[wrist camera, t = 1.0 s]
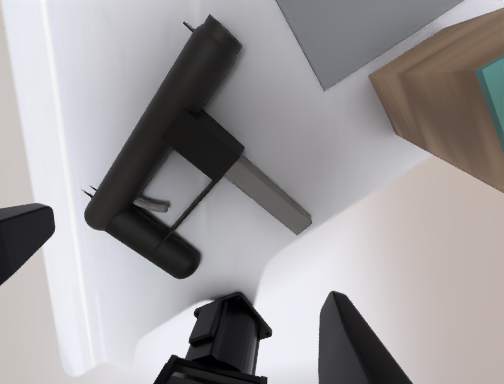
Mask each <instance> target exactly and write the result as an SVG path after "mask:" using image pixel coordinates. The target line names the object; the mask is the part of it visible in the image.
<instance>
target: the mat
mask: <svg viewBox="0 0 504 384" xmlns="http://www.w3.org/2000/svg"><path fill="white" fill-rule="evenodd" d="M276 1H277V3H278V5H279V6H280V8H281V10H282V12H283V14H284V16H285V18H286V20H287V21H288V23H289V25H290V27H291V29H292V31H293V33H294V35H295V36H296V38H297V40H298V42H299V44H300V46H301V48H302V50H303V51H304V53H305V55H306V57H307V59H308V61H309V63H310V64H311V66H312V68H313V70H314V72H315V74H316V76H317V78H318V79H319V81H320V83H321V85H322V87H323V89H324V91H325V90H327V89H328V88H330V87H332V86H333V85H335V84H336V83H338V82H339V81H341V80H342V79H344V78H345V77H347V76H348V75H350V74H351V73H353V72H355V71H356V70H358V69H359V68H361V67H362V66H364V65H365V64H367V63H368V62H370V61H371V60H373V59H375V58H376V57H378V56H379V55H381V54H382V53H384V52H385V51H387V50H388V49H390V48H391V47H393V46H395V45H396V44H398V43H399V42H401V41H402V40H404V39H405V38H407V37H408V36H410V35H411V34H413V33H414V32H416V31H418V30H419V29H421V28H422V27H424V26H425V25H427V24H428V23H430V22H431V21H433V20H434V19H436V18H438V17H439V16H441V15H442V14H444V13H445V12H447V11H448V10H450V9H451V8H453V7H454V6H456V5H457V4H459V3H461V2H462V1H464V0H276Z"/></svg>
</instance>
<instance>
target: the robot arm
mask: <svg viewBox="0 0 504 384" xmlns="http://www.w3.org/2000/svg"><path fill="white" fill-rule="evenodd" d="M54 231H55V222H54V214H53V209H52V208H51V207H50V206H47V205H43V204H40V203H33V204H26V205H20V206H14V207H8V208H2V209H0V285H2V284H3V283H4V282H5V281H6V280H8V279H9V278H10V277H11V276H12V275H13V274H14V273H15V272H16V271H17V270H18V269H19V268H20V267H21V266H22V265H23V264H24V263H25V262H26V261H27V260H28V259H29V258H30V257H31V256H32V255H33V254H34V253H35V252H36V251H37V250H38V249H39V248H40V247H41V246H42V245H43V244H44V243H45V242H46V241H47V240H48V239H49V238H50V237H51V236H52V235H53V233H54ZM238 297H239V298H238ZM194 316H195V317H196V318H197V321H196V323H195V326H194V328H193V331H192V333H191V336H190V338H189V343H190V347H189V350H188V352H187V355H186V357H185V359H184V358H180V357H178V356H176V355H172V356H171V357H170V359H169V360H168V362H167V363H166V364H165V365H164V367H163V369H162V370H161V372H160V374H159V375H158V377H157V378H156V380H155V382H154V383H153V384H267V377H264V376H261V377H259V376H255V370H256V363H257V356H258V348H259V342H260V340H262V339H265V338H268V337H271V336H272V329H271V328H270V327H269V326H268V324H267V323H266V322H265V321H264V320H263V318H262V317H261V316H260V315H259V313H258V312H257V311H256V310H255V309H254V307H253V306H252V305H251V304H250V303H249V301H248V300H247V299H246V298H245V296H244V295H243V294H242V293H239V292H237V293H234V294H232V295H229V296H227V297H224V298H222V299H219V300H216V301H214V302H211V303H209V304H206V305H204V306H202V307H199V308H197V309H195V311H194ZM319 327H320V328H319V358H318V374H319V384H413V383H412V382H411V381H410V379H409V378H408V377H407V375H406V374H405V373H404V371H403V370H402V369H401V367H400V366H399V365H398V363H397V362H396V361H395V360H394V358H393V357H392V355H391V354H390V353H389V351H388V350H387V349H386V347H385V346H384V345H383V343H382V342H381V341H380V340H379V338H378V337H377V336H376V334H375V333H374V331H373V330H372V329H371V327H370V326H369V325H368V323H367V322H366V321H365V320H364V318H363V317H362V315H361V314H360V313H359V312H358V310H357V309H356V308H355V306H354V305H353V304H352V302H351V301H350V300H349V298H348V297H347V296H346V295H345V294H343V293H339V292H336V291H331V292H330V293H329V295H328V297H327V299H326V301H325V303H324V305H323V307H322V309H321V312H320V326H319Z"/></svg>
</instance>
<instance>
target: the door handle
mask: <svg viewBox="0 0 504 384" xmlns="http://www.w3.org/2000/svg"><path fill="white" fill-rule="evenodd" d="M183 24H184V25H185V26H187V27H188V28H189V29H190V30H191V31H192V32H193V34H192V35H191V37H190V38H189V40H188V42H187V43H186V45H185V47H184V48H183V50H182V52H181V53H180V55H179V57H178V58H177V60H176V61H175V63H174V65H173V66H172V68H171V70H170V71H169V73H168V75H167V76H166V78H165V79H164V81H163V83H162V84H161V86H160V88H159V89H158V91H157V93H156V94H155V96H154V97H153V99H152V101H151V102H150V104H149V106H148V107H147V109H146V111H145V112H144V114H143V116H142V117H141V119H140V120H139V122H138V124H137V125H136V127H135V129H134V130H133V132H132V134H131V135H130V137H129V138H128V140H127V142H126V143H125V145H124V147H123V148H122V150H121V152H120V153H119V155H118V157H117V158H116V160H115V161H114V163H113V165H112V166H111V168H110V170H109V171H108V173H107V175H106V176H105V178H104V179H103V181H102V183H101V184H100V186H99V188H98V189H95V188H93V187H92V186H91V187H92V188H93V189H94V190H95V191H96V193H95V194H94V196H92V195H91V194H89V193H87V192H85V191H84V190H83V191H84V192H85V193H86V194H87V195H89V196H90V197H91V198H92V199H91V201H90V202H89V204H88V206H87V207H86V209H85V213H84V217H85V221H86V222H87V224H88V225H89V226H90V227H91V228H93V229H96V230H100V231H105V232H107V233H108V234H110V235H111V236H113V237H114V238H116V239H117V240H119V241H121V242H122V243H124V244H125V245H127V246H128V247H130V248H131V249H133V250H134V251H136V252H137V253H139V254H140V255H142V256H143V257H145V258H146V259H148V260H149V261H151V262H152V263H154V264H155V265H157V266H158V267H160V268H161V269H163V270H164V271H166V272H167V273H169V274H170V275H172V276H173V277H175V278H177V279H184V278H187V277H189V276H190V275H192V274H193V273H194V272H195V271H196V269H197V268H198V266H199V263H200V256H199V254H198V252H197V251H195V250H194V249H193V248H191V247H190V246H188V245H187V244H185V243H184V242H183V241H181V240H180V239H178V238H177V237H176V236H174V235H173V234H172V233H173V231H174V230H175V229H176V228H177V227H178V226H179V225H180V224H181V222H182V221H183V220H184V219H185V218H186V217H187V216H188V215H189V214H190V212H191V211H192V210H193V209H194V208H195V207H196V206H197V205H198V203H199V202H200V201H201V200H202V199H203V198H204V197H205V196H206V194H207V193H208V192H209V191H210V190H211V189H212V188H213V187H214V185H215V184H216V183H217V182H218V181H219V180H220V179H221V178H222V177H223V176H225V177H226V178H227V179H229V180H230V181H231V182H232V183H233V184H235V185H236V186H237V187H238V188H240V189H241V190H242V191H243V192H245V193H246V194H247V195H248V196H249V197H251V198H252V199H253V200H254V201H256V202H257V203H258V204H259V205H261V206H262V207H263V208H264V209H265V210H267V211H268V212H269V213H270V214H272V215H273V216H274V217H275V218H276V219H278V220H279V221H280V222H281V223H283V224H284V225H285V226H286V227H288V228H289V229H290V230H291V231H292V232H294V233H295V234H296V235H298V234H300V233H301V232H302V231H303V230H305V229H306V228H307V227H308V226H310V225H311V224H312V221H311V215H309V214H308V213H307V212H306V211H305V210H304V209H303V208H302V207H300V206H299V205H298V204H297V203H296V202H295V201H294V200H293V199H291V198H290V197H289V196H288V195H287V194H286V193H285V192H284V191H282V190H281V189H280V188H279V187H278V186H277V185H276V184H275V183H273V182H272V181H271V180H270V179H269V178H268V177H267V176H266V175H264V174H263V173H262V172H261V171H260V170H259V169H258V168H257V167H255V166H254V165H253V164H252V163H251V162H250V161H249V160H248V159H246V158H245V157H244V156H243V155H242V152H243V150H244V148H245V147H244V146H243V145H242V144H241V143H239V142H238V141H237V140H236V139H235V138H234V137H233V136H232V135H231V134H229V133H228V132H227V131H226V130H225V129H224V128H223V127H222V126H221V125H219V124H218V123H217V122H216V121H215V120H214V119H213V118H212V117H211V116H209V115H208V114H207V113H206V112H205V111H204V110H203V109H202V108H203V106H204V105H205V103H206V102H207V101H208V99H209V98H210V97H211V95H212V94H213V92H214V91H215V90H216V88H217V87H218V85H219V84H220V83H221V81H222V80H223V79H224V77H225V76H226V74H227V73H228V72H229V70H230V69H231V68H232V66H233V64H234V62H235V59H236V54H237V53H238V51H239V50H240V49H241V47H242V44H241V43H240V42H239V41H238V40H237V39H236V38H235V37H234V36H233V35H232V34H231V33H230V32H229V31H228V30H227V29H226V28H225V27H224V26H223V25H221V24H220V23H219V22H218V21H217V20H216V19H215V18H214V17H213V16H211V15H210V14H209V16H208V18H207V19H206V21H205V22H204V24H202V25H200V26H199V27H197V28H196V29H194V28H193V27H192V28H193V29H194V30H195V31H194V30H193V29H192V28H191V27H190V26H188V25H187V24H186V23H185V22H183ZM172 149H174V150H176V151H177V152H178V153H179V154H181V155H182V156H183V157H184V158H186V159H187V160H188V161H189V162H191V163H192V164H193V165H194V166H196V167H197V168H198V169H199V170H201V171H202V172H203V173H204V174H206V175H207V176H208V177H209V178H211V179H212V181H211V183H210V184H209V185H208V186H207V187H206V188H205V189H204V191H203V192H202V193H201V194H200V195H199V196H198V197H197V199H196V200H195V201H194V202H193V203H192V204H191V205H190V207H189V208H188V209H187V210H186V211H185V212H184V213H183V215H182V216H181V217H180V218H179V219H178V220H177V221H176V223H175V224H174V225H173V226H172V227H171V228H170V229H169V231H167V230H166V229H164V228H163V227H161V226H160V225H159V224H157V223H156V222H154V221H153V220H152V219H150V218H149V217H147V216H146V215H145V214H143V213H142V212H140V211H139V210H137V209H136V208H135V207H133V206H132V204H135V205H137V206H139V207H142V208H145V209H148V210H152V211H157V212H167V211H168V206H167V205H161V204H154V203H150V202H146V201H143V200H141V199H139V198H137V197H138V196H139V195H140V193H141V192H142V190H143V189H144V188H145V186H146V185H147V184H148V182H149V181H150V179H151V178H152V177H153V175H154V174H155V173H156V171H157V170H158V168H159V167H160V166H161V164H162V163H163V161H164V160H165V159H166V157H167V156H168V155H169V153H170V152H171V150H172ZM89 186H90V185H89ZM81 190H82V189H81Z"/></svg>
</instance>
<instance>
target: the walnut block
mask: <svg viewBox="0 0 504 384" xmlns="http://www.w3.org/2000/svg"><path fill="white" fill-rule="evenodd" d="M369 77H370V79H371V82H372V84H373V86H374V88H375V90H376V92H377V94H378V96H379V98H380V101H381V103H382V105H383V107H384V109H385V111H386V113H387V115H388V117H389V119H390V122H391V124H392V126H393V128H394V130H395V132H396V134H397V135H398V136H400V137H402V138H404V139H406V140H407V141H409V142H411V143H413V144H415V145H417V146H418V147H420V148H422V149H424V150H426V151H428V152H429V153H431V154H433V155H435V156H437V157H439V158H440V159H443V160H444V161H446V162H448V163H450V164H451V165H453V166H455V167H457V168H459V169H461V170H462V171H464V172H466V173H468V174H470V175H472V176H473V177H475V178H477V179H479V180H481V181H483V182H484V183H486V184H488V185H490V186H492V187H494V188H496V189H497V190H499V191H501V192H503V193H504V8H501V9H498V10H496V11H493V12H490V13H487V14H484V15H481V16H478V17H475V18H472V19H470V20H467V21H464V22H461V23H458V24H455V25H452V26H449V27H446V28H444V29H442V30H440V31H439V32H437V33H436V34H434V35H433V36H431V37H429V38H428V39H426V40H425V41H423V42H421V43H420V44H418V45H417V46H415V47H414V48H412V49H410V50H409V51H407V52H406V53H404V54H402V55H401V56H399V57H398V58H396V59H395V60H393V61H391V62H390V63H388V64H387V65H385V66H383V67H382V68H380V69H379V70H377V71H376V72H374V73H372V74H371V75H369Z"/></svg>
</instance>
